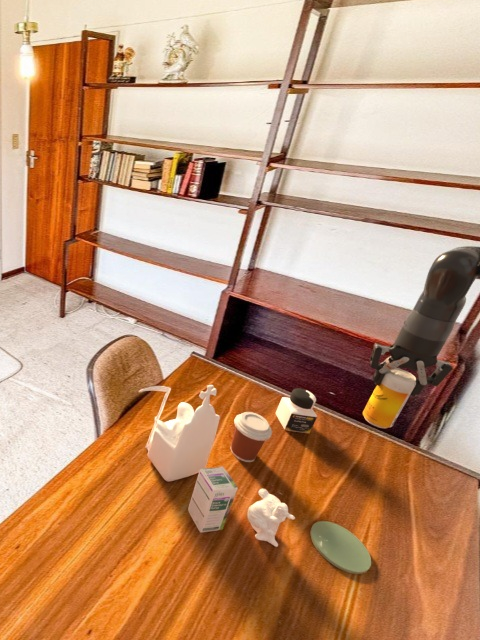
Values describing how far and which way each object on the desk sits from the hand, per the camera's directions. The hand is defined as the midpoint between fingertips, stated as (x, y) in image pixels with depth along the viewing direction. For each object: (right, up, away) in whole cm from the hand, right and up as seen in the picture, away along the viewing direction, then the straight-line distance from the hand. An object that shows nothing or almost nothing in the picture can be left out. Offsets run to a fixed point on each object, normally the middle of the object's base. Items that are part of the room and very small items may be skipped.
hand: (393, 388), depth 97 cm
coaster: (-20, -33, -8) cm, 40 cm away
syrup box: (-49, -30, -4) cm, 57 cm away
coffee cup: (-29, -22, +14) cm, 40 cm away
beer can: (0, -10, +5) cm, 11 cm away
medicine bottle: (-8, -18, +25) cm, 32 cm away
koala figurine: (-36, -32, -6) cm, 49 cm away
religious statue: (-52, -23, +11) cm, 58 cm away
